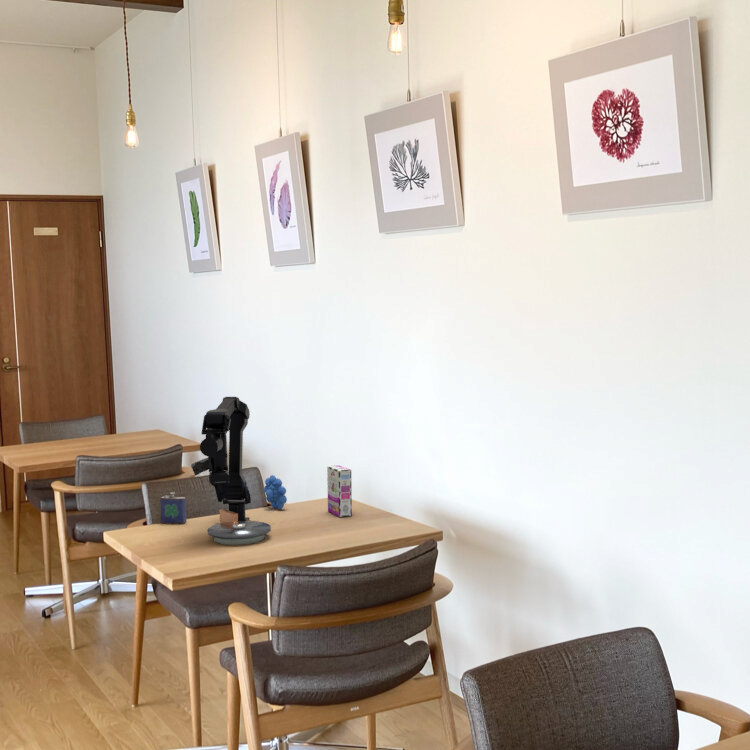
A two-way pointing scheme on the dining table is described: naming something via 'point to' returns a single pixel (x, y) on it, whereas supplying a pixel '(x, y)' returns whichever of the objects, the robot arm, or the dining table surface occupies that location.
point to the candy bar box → (339, 491)
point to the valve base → (239, 540)
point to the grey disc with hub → (237, 527)
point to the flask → (173, 509)
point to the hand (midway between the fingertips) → (219, 498)
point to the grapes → (275, 492)
